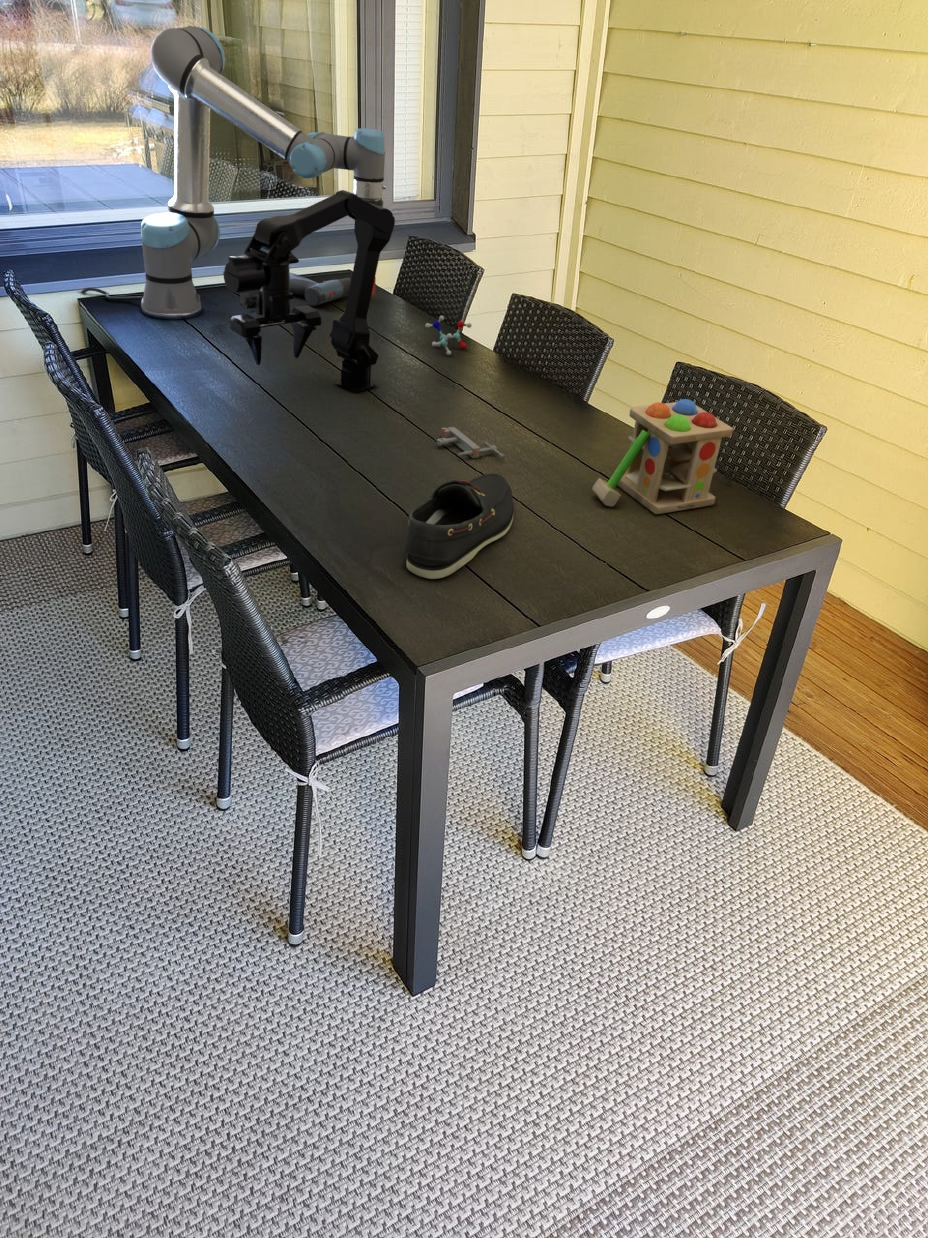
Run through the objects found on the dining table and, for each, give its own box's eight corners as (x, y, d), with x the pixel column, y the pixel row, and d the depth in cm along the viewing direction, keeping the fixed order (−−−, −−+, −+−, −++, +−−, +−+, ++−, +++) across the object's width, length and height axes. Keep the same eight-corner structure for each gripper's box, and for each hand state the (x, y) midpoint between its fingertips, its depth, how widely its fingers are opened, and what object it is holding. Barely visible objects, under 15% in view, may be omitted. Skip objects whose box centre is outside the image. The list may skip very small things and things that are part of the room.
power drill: (307, 279, 292) (360, 295, 284) (264, 292, 279) (319, 308, 271) (307, 261, 289) (361, 276, 281) (263, 272, 276) (319, 289, 268)
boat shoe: (539, 516, 182) (544, 464, 176) (440, 585, 158) (443, 528, 152) (480, 497, 187) (483, 446, 182) (376, 561, 163) (376, 505, 158)
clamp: (428, 429, 204) (470, 423, 208) (427, 439, 205) (469, 432, 209) (464, 459, 193) (507, 451, 198) (463, 469, 194) (506, 461, 199)
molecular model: (465, 347, 244) (452, 307, 242) (431, 360, 247) (418, 321, 246) (479, 347, 254) (467, 309, 253) (447, 360, 258) (434, 323, 256)
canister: (372, 290, 261) (373, 273, 259) (376, 295, 257) (377, 279, 255) (354, 290, 260) (354, 273, 257) (357, 295, 256) (358, 279, 254)
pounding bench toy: (617, 521, 181) (635, 431, 171) (577, 488, 192) (591, 401, 182) (715, 504, 191) (737, 418, 181) (672, 473, 201) (691, 389, 191)
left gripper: (381, 206, 238) (378, 303, 251) (384, 191, 253) (381, 283, 266) (350, 204, 238) (349, 300, 251) (355, 189, 253) (354, 281, 266)
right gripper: (294, 271, 210) (295, 342, 219) (214, 280, 199) (219, 355, 208) (322, 285, 203) (322, 358, 212) (241, 296, 193) (245, 372, 201)
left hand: (366, 291), depth 258 cm, fingers closed on canister, 5 cm apart
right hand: (277, 360), depth 208 cm, fingers open, 9 cm apart
